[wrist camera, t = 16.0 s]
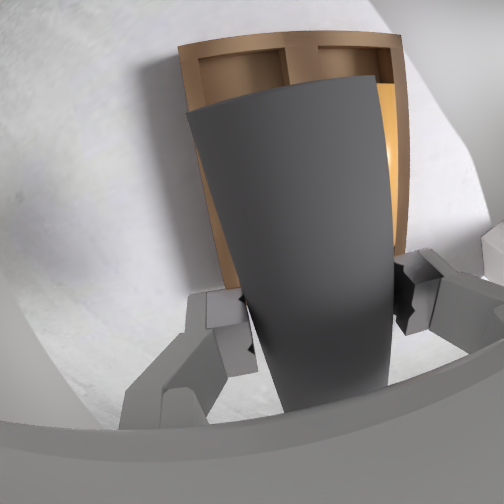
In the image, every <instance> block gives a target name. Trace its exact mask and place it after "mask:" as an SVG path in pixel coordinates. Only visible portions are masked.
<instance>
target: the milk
mask: <svg viewBox="0 0 504 504" xmlns="http://www.w3.org/2000/svg"><path fill="white" fill-rule="evenodd" d="M481 242H482V251H483V262H484V275H485V277H486V278H487V279H488V280H489V281H491V282H492V283H495V284H498V285H501V286H504V220H502V221H501V222H500V223H499V224H497V225H496V226H495V227H494V228H492V229H491V230H490V231H488V232H487V233H486V234H484V235H483V236H482V237H481Z"/></svg>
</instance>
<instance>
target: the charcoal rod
mask: <svg viewBox="0 0 504 504" xmlns="http://www.w3.org/2000/svg"><path fill="white" fill-rule="evenodd" d="M186 114H187V118H188V121H189V124H190V128H191V131H192V134H193V138H194V141H195V144H196V147H197V151H198V154H199V157H200V160H201V164H202V167H203V170H204V173H205V176H206V180H207V183H208V186H209V189H210V192H211V195H212V199H213V202H214V205H215V208H216V211H217V214H218V217H219V221H220V224H221V227H222V230H223V233H224V236H225V239H226V242H227V245H228V248H229V252H230V255H231V258H232V261H233V264H234V267H235V270H236V273H237V276H238V279H239V282H240V285H241V288H242V291H243V294H244V297H245V300H246V303H247V306H248V309H249V312H250V315H251V318H252V321H253V324H254V327H255V330H256V333H257V335H258V338H259V341H260V344H261V347H262V350H263V353H264V356H265V359H266V362H267V365H268V367H269V370H270V373H271V376H272V379H273V382H274V385H275V388H276V390H277V393H278V396H279V399H280V402H281V405H282V407H283V410H284V413H287V412H292V411H296V410H301V409H306V408H310V407H314V406H319V405H323V404H327V403H331V402H335V401H338V400H342V399H346V398H350V397H353V396H357V395H360V394H364V393H367V392H370V391H373V390H377V389H380V388H383V387H386V386H387V385H388V376H389V366H390V354H391V341H392V325H393V300H394V242H393V217H392V201H391V187H390V176H389V166H388V157H387V148H386V140H385V133H384V126H383V119H382V113H381V106H380V101H379V95H378V89H377V84H376V79H375V76H374V75H363V76H349V77H339V78H331V79H323V80H316V81H310V82H304V83H298V84H292V85H287V86H282V87H277V88H272V89H268V90H263V91H259V92H254V93H250V94H246V95H242V96H239V97H235V98H231V99H227V100H224V101H221V102H217V103H214V104H211V105H208V106H204V107H201V108H199V109H196V110H193V111H190V112H188V113H186Z"/></svg>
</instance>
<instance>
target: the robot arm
mask: <svg viewBox="0 0 504 504" xmlns="http://www.w3.org/2000/svg"><path fill="white" fill-rule="evenodd" d="M393 314H394V315H396V316H397V317H396V323H397V324H398V326H399V327H400V329H401V330H402V332H403V333H404V335H405V336H407V335H410V334H414V333H417V332H421V331H424V330H427V329H429V330H430V331H431V332H433V333H435V334H437V335H438V336H440V337H442V338H443V339H445V340H447V341H448V342H450V343H452V344H453V345H455V346H457V347H458V348H460V349H462V350H464V351H465V352H467V353H469V355H467V356H465V357H462V358H460V359H458V360H455V361H453V362H451V363H448V364H446V365H443V366H441V367H439V368H436V369H433V370H431V371H428V372H426V373H423V374H420V375H418V376H415V377H412V378H410V379H407V380H404V381H401V382H398V383H395V384H392V385H389V386H386V387H383V388H380V389H377V390H373V391H370V392H367V393H364V394H360V395H357V396H353V397H350V398H346V399H342V400H338V401H335V402H331V403H327V404H323V405H319V406H314V407H310V408H306V409H301V410H296V411H292V412H287V413H282V414H277V415H271V416H266V417H260V418H254V419H247V420H241V421H234V422H226V423H219V424H210V425H209V423H208V421H207V419H206V417H207V415H208V413H209V411H210V410H211V408H212V406H213V404H214V403H215V401H216V399H217V397H218V396H219V394H220V392H221V390H222V389H223V387H224V385H225V383H226V382H227V380H228V377H234V376H239V375H245V374H250V373H255V372H258V367H257V361H256V355H255V349H254V344H253V337H252V332H251V326H250V321H249V315H248V311H247V306H246V300H245V297H244V294H243V291H242V288H241V286H239V287H233V288H227V289H220V290H214V291H207V292H201V293H195V294H190V295H189V296H188V300H187V311H186V323H185V333H180V334H179V335H178V336H177V337H176V338H175V339H174V340H173V341H172V342H171V343H170V344H169V345H168V346H167V347H166V348H165V350H164V351H163V352H162V353H161V354H160V355H159V356H158V357H157V358H156V359H155V360H154V361H153V362H152V363H151V364H150V365H149V367H148V368H147V369H146V370H145V371H144V372H143V373H142V374H141V375H140V376H139V377H138V378H137V379H136V380H135V381H134V382H133V384H132V385H131V386H130V387H129V388H128V389H127V390H126V391H125V397H124V402H123V407H122V412H121V418H120V424H119V429H118V430H96V429H95V430H94V429H72V428H57V427H46V426H36V425H27V424H19V423H13V422H6V421H0V504H504V286H501V285H498V284H495V283H492V282H490V281H487V280H484V279H481V278H478V277H475V276H472V275H469V274H466V273H463V272H461V273H458V272H457V271H455V270H454V269H453V268H452V267H451V266H450V265H449V264H448V263H447V262H446V261H445V260H443V259H442V258H441V257H440V256H439V255H438V254H437V253H436V252H434V251H433V250H432V249H430V248H425V249H421V250H417V251H414V252H411V253H406V254H402V255H398V256H394V300H393Z"/></svg>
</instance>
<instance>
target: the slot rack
mask: <svg viewBox="0 0 504 504" xmlns="http://www.w3.org/2000/svg"><path fill="white" fill-rule="evenodd" d="M178 52H179V58H180V64H181V70H182V76H183V82H184V88H185V93H186V99H187V105H188V110H189V112H190V111H193V110H196V109H199V108H201V107H204V106H208V105H211V104H214V103H217V102H221V101H224V100H227V99H231V98H235V97H239V96H242V95H246V94H250V93H254V92H259V91H263V90H268V89H272V88H277V87H282V86H287V85H292V84H298V83H304V82H310V81H316V80H323V79H331V78H339V77H349V76H363V75H374V76H375V79H376V83H383V84H395V96H396V111H397V132H398V205H397V226H396V241H395V246H394V256H398V255H402V254H405V247H406V235H407V222H408V206H409V180H410V136H409V110H408V94H407V82H406V71H405V62H404V53H403V46H402V39H401V35H397V34H388V33H376V32H360V31H290V32H274V33H262V34H252V35H243V36H235V37H228V38H221V39H215V40H209V41H203V42H197V43H192V44H187V45H182V46H178ZM194 142H195V141H194ZM195 148H196V153H197V158H198V163H199V168H200V173H201V178H202V183H203V188H204V193H205V198H206V203H207V208H208V212H209V217H210V222H211V226H212V231H213V236H214V240H215V245H216V250H217V254H218V259H219V263H220V268H221V272H222V277H223V281H224V285H225V289H227V288H233V287H239V286H241V285H240V282H239V279H238V276H237V273H236V270H235V267H234V264H233V261H232V258H231V255H230V252H229V248H228V245H227V242H226V239H225V236H224V233H223V230H222V227H221V224H220V221H219V217H218V214H217V211H216V208H215V205H214V202H213V199H212V195H211V192H210V189H209V186H208V183H207V180H206V176H205V173H204V170H203V167H202V164H201V160H200V157H199V154H198V151H197V147H196V144H195ZM246 305H247V303H246Z"/></svg>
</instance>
